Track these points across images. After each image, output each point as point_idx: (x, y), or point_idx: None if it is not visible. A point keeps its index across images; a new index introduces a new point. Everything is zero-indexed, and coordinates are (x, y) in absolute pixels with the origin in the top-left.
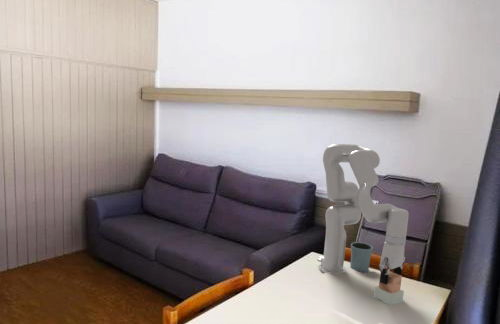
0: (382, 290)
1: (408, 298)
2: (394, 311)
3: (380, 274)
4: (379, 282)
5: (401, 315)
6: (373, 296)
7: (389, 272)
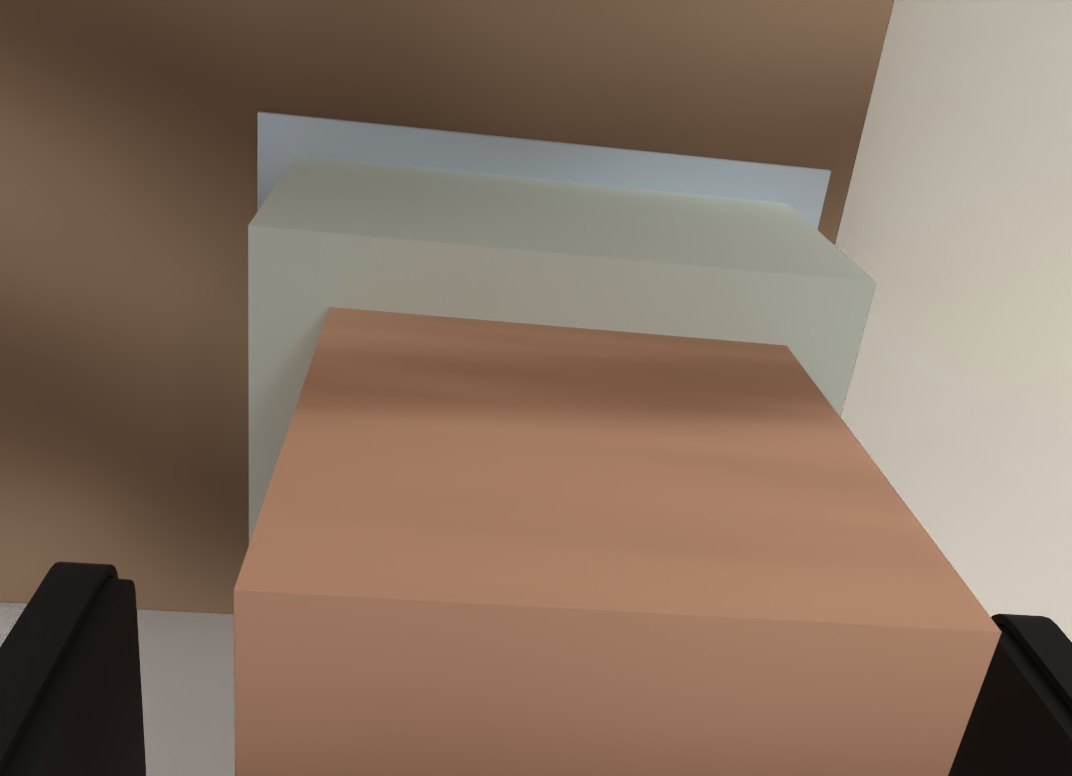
0: (259, 460)
1: (984, 547)
2: (225, 620)
3: (245, 577)
4: (302, 391)
5: (200, 738)
6: (305, 134)
7: (785, 756)
